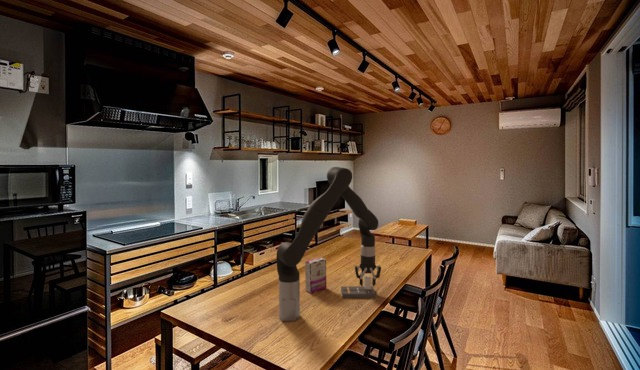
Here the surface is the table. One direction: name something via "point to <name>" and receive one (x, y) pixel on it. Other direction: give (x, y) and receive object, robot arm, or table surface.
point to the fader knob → (367, 282)
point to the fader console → (357, 292)
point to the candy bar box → (315, 274)
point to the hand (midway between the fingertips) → (367, 285)
